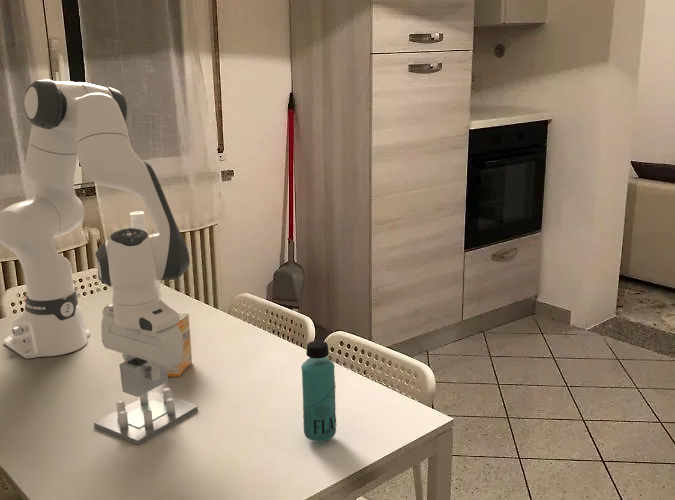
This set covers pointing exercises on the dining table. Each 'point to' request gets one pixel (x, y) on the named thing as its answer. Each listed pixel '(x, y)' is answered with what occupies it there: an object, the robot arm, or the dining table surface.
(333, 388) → the beverage bottle
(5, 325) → the dining table surface
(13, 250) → the robot arm
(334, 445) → the dining table surface
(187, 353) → the supplement box
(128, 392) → the block
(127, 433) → the pin tray
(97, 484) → the dining table surface
